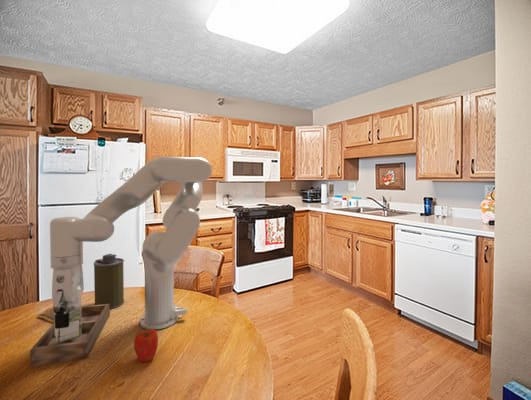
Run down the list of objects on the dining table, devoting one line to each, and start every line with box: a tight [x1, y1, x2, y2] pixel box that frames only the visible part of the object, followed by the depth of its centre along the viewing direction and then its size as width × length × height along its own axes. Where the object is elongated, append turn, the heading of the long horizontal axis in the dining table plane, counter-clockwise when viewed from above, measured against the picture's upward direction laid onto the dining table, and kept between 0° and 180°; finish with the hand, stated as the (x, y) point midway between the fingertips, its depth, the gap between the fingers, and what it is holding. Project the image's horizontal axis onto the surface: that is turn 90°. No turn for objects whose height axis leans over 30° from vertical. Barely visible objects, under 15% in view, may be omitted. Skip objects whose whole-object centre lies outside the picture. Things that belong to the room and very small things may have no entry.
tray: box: [29, 304, 111, 367], centre depth 85 cm, size 13×25×4 cm, turn 17°
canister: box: [93, 253, 125, 310], centre depth 108 cm, size 11×10×20 cm
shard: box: [37, 307, 54, 324], centre depth 97 cm, size 11×8×2 cm
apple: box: [133, 329, 159, 363], centre depth 75 cm, size 6×6×8 cm
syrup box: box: [53, 287, 82, 343], centre depth 79 cm, size 6×6×14 cm
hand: (68, 320), depth 79 cm, fingers closed on syrup box, 7 cm apart
